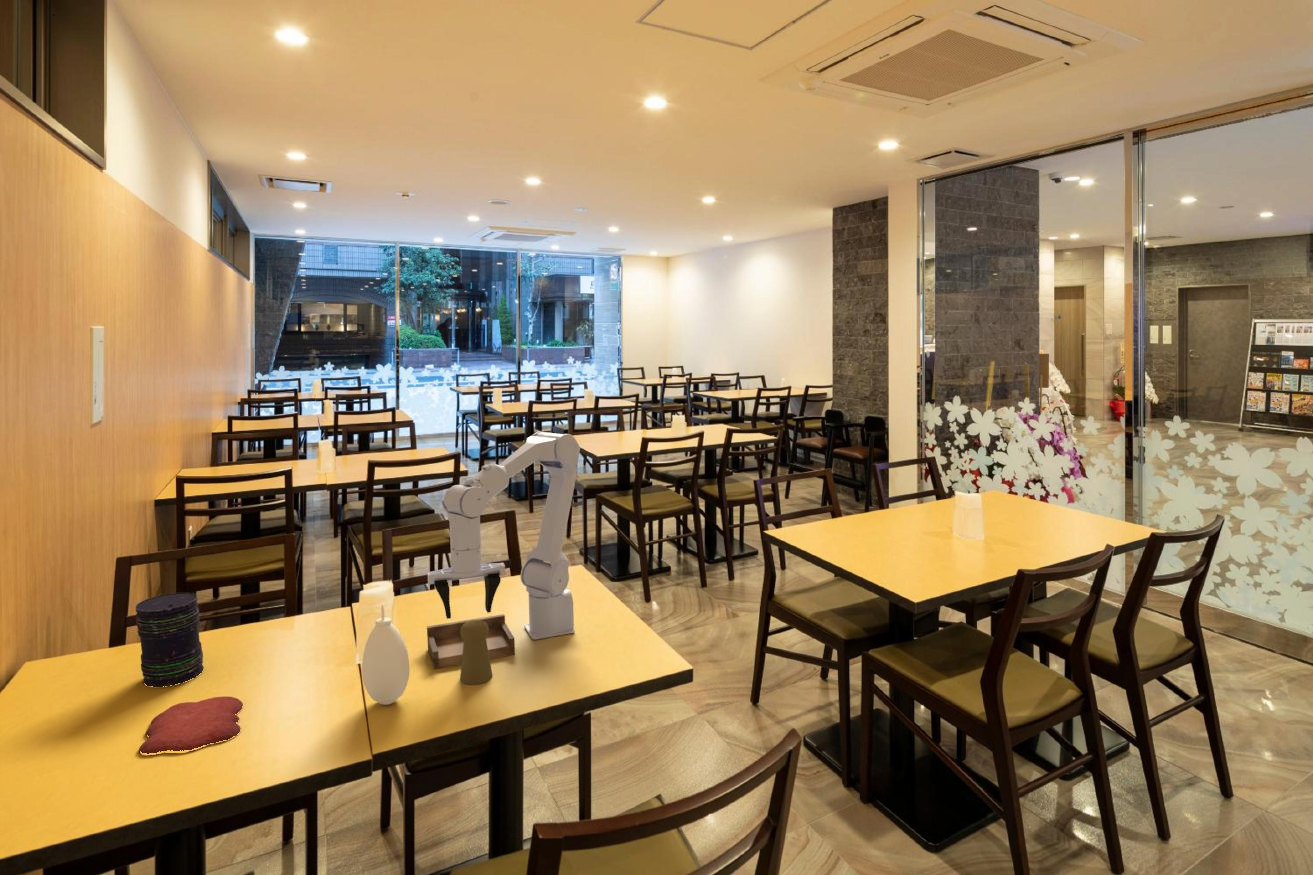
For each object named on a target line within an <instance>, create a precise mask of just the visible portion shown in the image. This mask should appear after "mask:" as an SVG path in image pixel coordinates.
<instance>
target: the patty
mask: <svg viewBox="0 0 1313 875" xmlns="http://www.w3.org/2000/svg"><path fill="white" fill-rule="evenodd" d="M243 705H244V703H243V702H242V700H240V699H239V698H237V697H234V696H217V697H216V696H214V697H210V698H207V699H204V700H199V701H195V702H193V701H191V702H189V701H187V702H181V703H180V702H179V703H176V704H174V705H171V706H170V707H168V708H167V709H165V710H164V711H162V712H160V713H159V714H157V715H155V717H153V719H152V720H151V722H150V725H151V726H149V727H148V728H147V730H146V731H145V736H146V735H148V736H149V738H148V739H147V740H145V741H143V743H142V744H141V745H140V746H139V748H138V751H139V750H140V751H141V752H142V753H147V754H149V753H157V752H159V751H160V752H161V751H167V750H170V751H171V750H173V751H180V750H181V751H182V750H183V751H184V750H192V749H194V748H198V747H201V746H203V745H207V744H210V743H216V742H219V741H223V740H228V739H230V738H232V737H233V736H235V735H237V734H238V733H239V732H240V733H241V731H240V729H241V730H242V728H241V726H240V725H239V724H238V723H239V722H238V720H239V721H240V717H239V716H238V714H239V713H240V712H241V711H242V710H243V708H242V706H243ZM243 707H244V706H243ZM241 709H242V710H241ZM240 710H241V711H240ZM239 711H240V712H239ZM238 712H239V713H238ZM237 713H238V714H237ZM235 714H237V715H235ZM236 722H238V723H237V724H236ZM240 733H239V734H240ZM237 736H238V735H237Z"/></svg>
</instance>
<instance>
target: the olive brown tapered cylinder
mask: <svg viewBox="0 0 1313 875" xmlns="http://www.w3.org/2000/svg"><path fill="white" fill-rule="evenodd" d="M470 620H471V619H470ZM488 632H489V628H488V625H487V624H486V622H484V621H481V620H471V621H468V622H466V623H464V624H463V625H462V627H461V630H460V634H461V638H462V639H463V641H464V643H463V653H462V664H460V665H461V666H460V673H459V674H460V675H459V676H460V677H459V679H460V682H461V683H462V684H464V685H467V686H477V685H483V684H485V683H488V682H489V681H491V680H492V678H493V670H492V665H491V659H490V658H489V653H488V647H487V642H486V638H487V636H488Z"/></svg>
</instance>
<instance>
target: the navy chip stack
mask: <svg viewBox="0 0 1313 875" xmlns="http://www.w3.org/2000/svg"><path fill="white" fill-rule="evenodd" d="M135 612H136V616H135V617H136V620H135V621H136V628H137V631H136V632H137V634H138V636H139V638H140V649H141V655H140V669H141V670H140V671H141V672H142V677H143V679H142V682H144V683H145V684H146V685H147V686H153V687H163V686H164V688H166V687H165V686H170V685H175V684H178V683H183V682H185V681H188V680H190V679H192V678H195V677H196V676H198V675H199V674H200V673H202V671H203V669H204V665H203V663H204V651H203V648H202V642H201V641H200V632H199V630H200V629H199V626H200V620H201V619H200V617H199V616H200V610H199V605H198V595H197V594H195V593H192V592H174V593H168V594H165V593H164V594H161V595H156V596H153V597H150V598H146V599H144V600H142V601H140V602H139V603H137V604H136V605H135ZM204 670H205V669H204ZM203 672H204V671H203ZM202 674H203V673H202ZM198 677H199V676H198ZM195 679H196V678H195ZM188 682H189V681H188ZM144 683H143V684H144ZM183 684H184V683H183ZM147 686H146V687H147ZM175 686H176V685H175Z"/></svg>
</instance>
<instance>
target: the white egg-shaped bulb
mask: <svg viewBox="0 0 1313 875" xmlns="http://www.w3.org/2000/svg"><path fill="white" fill-rule="evenodd" d="M380 611H381V617H380V618H377V619H376V620H375V622H374V624H375V626H374V627H373V628H372V629H371V631H370V633H369V635H368V637H367V640H366V643H365V646H364V649H363V653H362V654H363V655H362V661H361V662H362V664H361V668H362V669H361V673H362V674H361V675H362V681H363V686H364V688H365V690H366V692H367V694H368V696H369V697H370V698H371V699H372V700H373V701H375V702H377V703H378V704H379V705H385V706H386V705H387V706H388V705H391V704H393V703H395V702H396V701H398V699H399V698H401V697H402V696H403V694H404V693H405V691H406V689H407V686H408V683H409V678H410V672H411V670H410V669H411V668H410V666H411V665H410V658H409V652H408V649H407V646H406V644H405V641H404V639H403V636H402V634H401V633H400V631H399V630H398V628H397V627H396V626H395V625H394V624H393V623H392V619H391V618H390V617H385V609H384V605H383V604H381V610H380Z"/></svg>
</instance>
